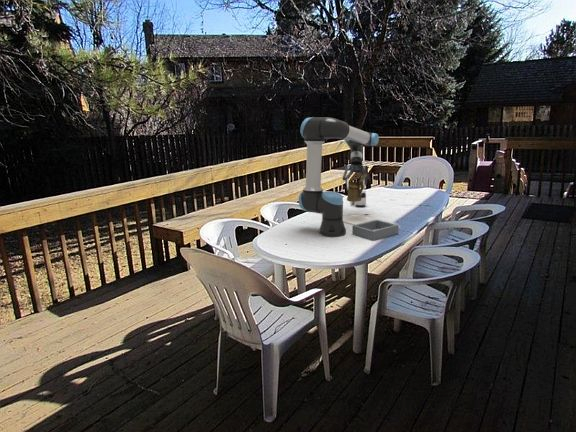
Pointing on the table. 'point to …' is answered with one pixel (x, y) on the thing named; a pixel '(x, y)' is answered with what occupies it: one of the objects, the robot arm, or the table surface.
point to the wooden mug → (356, 189)
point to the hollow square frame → (382, 232)
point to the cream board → (356, 219)
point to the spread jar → (363, 201)
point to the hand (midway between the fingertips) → (355, 188)
